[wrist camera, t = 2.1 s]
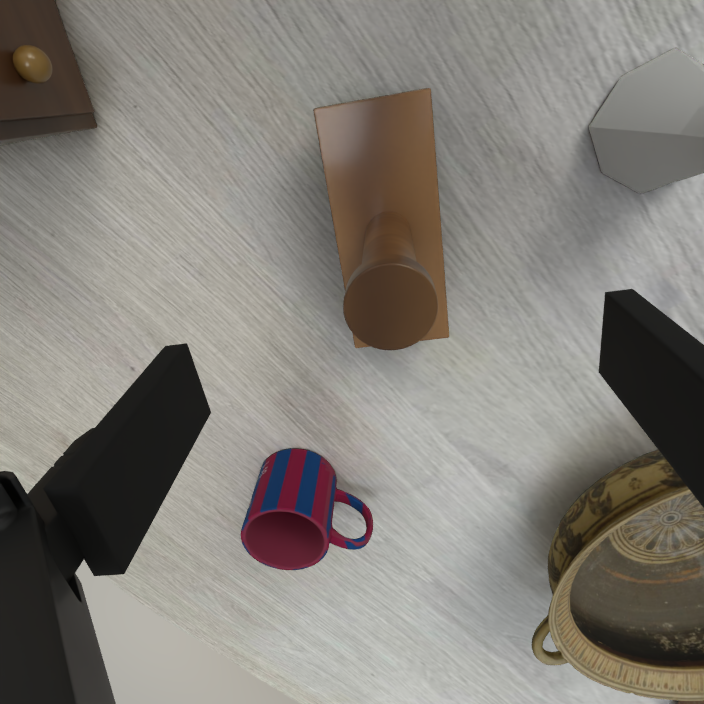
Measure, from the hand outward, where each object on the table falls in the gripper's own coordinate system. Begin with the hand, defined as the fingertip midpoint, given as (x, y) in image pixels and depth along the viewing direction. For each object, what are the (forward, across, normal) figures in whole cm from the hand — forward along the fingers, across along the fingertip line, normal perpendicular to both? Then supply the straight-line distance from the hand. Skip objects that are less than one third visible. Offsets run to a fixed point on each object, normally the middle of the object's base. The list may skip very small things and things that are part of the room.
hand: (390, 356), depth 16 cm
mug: (+19, -9, -22) cm, 30 cm away
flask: (+19, +16, +3) cm, 25 cm away
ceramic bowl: (+19, +20, -27) cm, 38 cm away
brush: (+19, 0, 0) cm, 19 cm away
